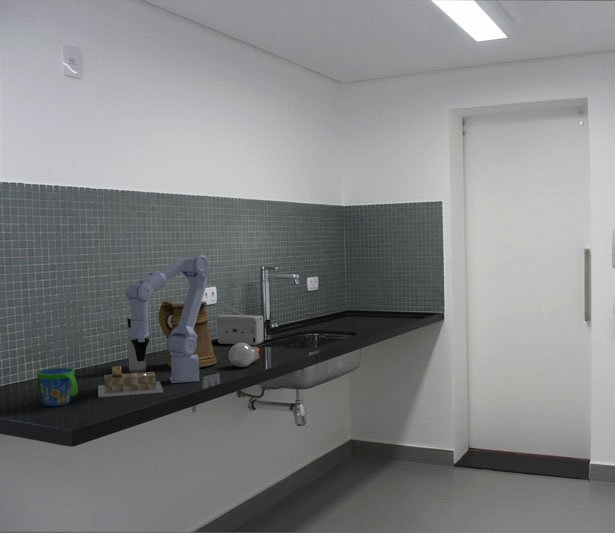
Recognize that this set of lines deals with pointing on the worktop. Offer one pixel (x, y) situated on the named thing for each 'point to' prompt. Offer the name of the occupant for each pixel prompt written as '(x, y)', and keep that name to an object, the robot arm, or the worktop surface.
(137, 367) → the travel mug
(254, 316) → the stereo radio cassette player
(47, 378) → the snack cup
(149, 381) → the housing
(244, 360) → the potion bottle
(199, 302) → the robot arm
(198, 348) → the tankard
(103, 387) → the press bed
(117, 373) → the pin
